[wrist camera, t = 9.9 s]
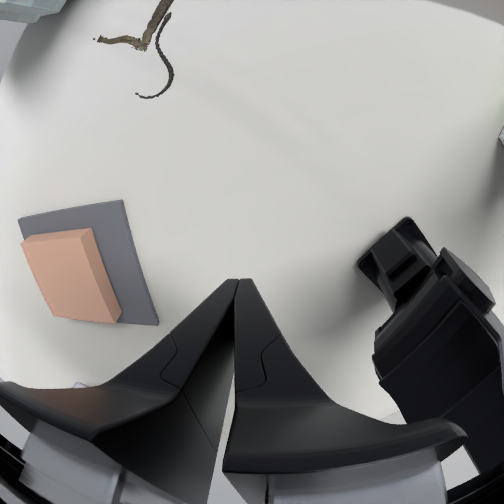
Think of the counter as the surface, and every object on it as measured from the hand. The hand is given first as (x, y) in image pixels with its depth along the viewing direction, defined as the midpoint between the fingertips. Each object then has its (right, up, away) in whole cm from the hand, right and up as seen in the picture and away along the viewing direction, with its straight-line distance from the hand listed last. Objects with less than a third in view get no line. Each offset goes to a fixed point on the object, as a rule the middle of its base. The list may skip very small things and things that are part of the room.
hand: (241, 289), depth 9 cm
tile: (-14, -1, +14) cm, 20 cm away
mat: (-18, -1, +17) cm, 25 cm away
